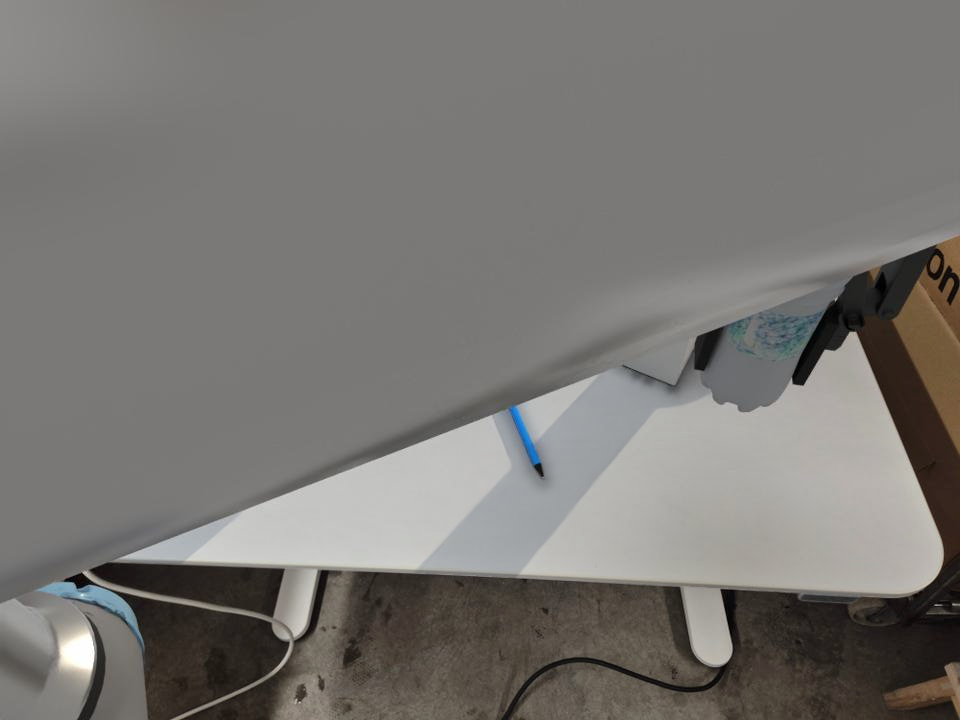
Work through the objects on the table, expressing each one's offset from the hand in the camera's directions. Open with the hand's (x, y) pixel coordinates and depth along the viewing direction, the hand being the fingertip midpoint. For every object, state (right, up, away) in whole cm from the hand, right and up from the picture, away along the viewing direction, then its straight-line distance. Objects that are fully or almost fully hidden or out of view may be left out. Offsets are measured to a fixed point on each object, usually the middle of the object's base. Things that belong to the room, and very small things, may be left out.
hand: (747, 363), depth 46 cm
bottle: (0, -2, +2) cm, 3 cm away
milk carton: (+2, +1, +31) cm, 31 cm away
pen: (-16, -6, +27) cm, 32 cm away
